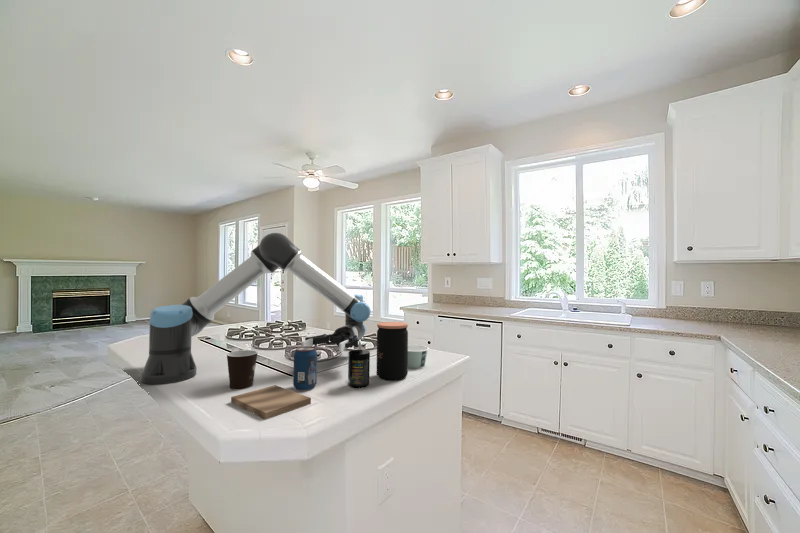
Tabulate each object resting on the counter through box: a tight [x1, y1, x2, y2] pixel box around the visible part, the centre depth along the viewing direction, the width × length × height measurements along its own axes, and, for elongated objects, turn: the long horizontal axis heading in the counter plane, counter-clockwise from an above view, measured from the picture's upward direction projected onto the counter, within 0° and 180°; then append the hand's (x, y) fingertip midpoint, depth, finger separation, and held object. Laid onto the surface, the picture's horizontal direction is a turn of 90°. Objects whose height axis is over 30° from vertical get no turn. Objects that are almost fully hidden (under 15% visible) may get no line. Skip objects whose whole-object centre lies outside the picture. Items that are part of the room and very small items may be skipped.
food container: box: [408, 344, 430, 369], centre depth 133 cm, size 12×12×6 cm
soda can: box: [292, 346, 318, 392], centre depth 104 cm, size 7×7×12 cm
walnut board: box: [230, 384, 312, 420], centre depth 91 cm, size 17×13×2 cm
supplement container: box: [347, 349, 371, 390], centre depth 106 cm, size 7×7×10 cm
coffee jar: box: [376, 321, 409, 382], centre depth 116 cm, size 11×11×18 cm
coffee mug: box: [226, 349, 258, 390], centre depth 106 cm, size 12×9×10 cm
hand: (321, 346), depth 113 cm, fingers open, 13 cm apart
